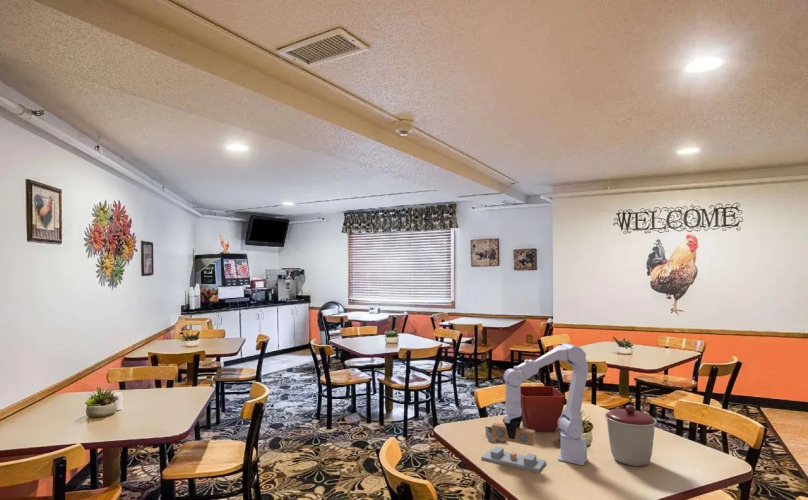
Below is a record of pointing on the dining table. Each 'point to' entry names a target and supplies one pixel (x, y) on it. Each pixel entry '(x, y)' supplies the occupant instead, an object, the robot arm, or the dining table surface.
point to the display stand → (514, 459)
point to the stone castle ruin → (489, 433)
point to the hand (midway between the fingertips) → (513, 436)
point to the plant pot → (541, 407)
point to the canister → (631, 435)
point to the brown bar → (521, 434)
